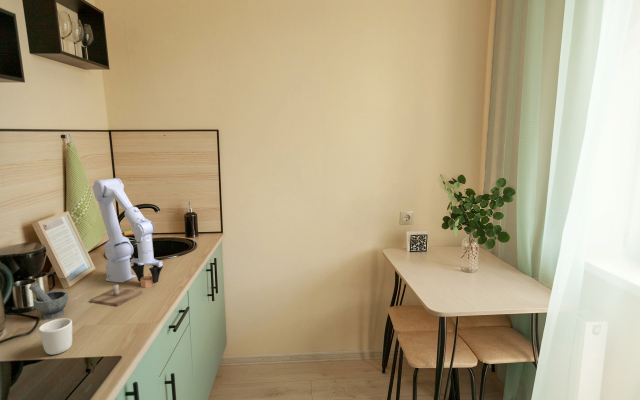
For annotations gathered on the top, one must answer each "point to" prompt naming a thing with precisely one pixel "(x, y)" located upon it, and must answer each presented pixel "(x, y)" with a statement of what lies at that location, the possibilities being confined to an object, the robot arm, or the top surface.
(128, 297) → the peg plate
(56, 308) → the mortar and pestle
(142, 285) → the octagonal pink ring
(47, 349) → the cup
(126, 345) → the top surface
